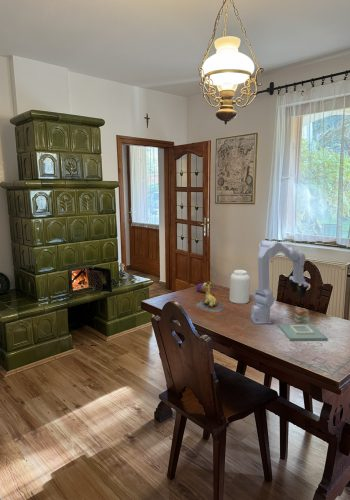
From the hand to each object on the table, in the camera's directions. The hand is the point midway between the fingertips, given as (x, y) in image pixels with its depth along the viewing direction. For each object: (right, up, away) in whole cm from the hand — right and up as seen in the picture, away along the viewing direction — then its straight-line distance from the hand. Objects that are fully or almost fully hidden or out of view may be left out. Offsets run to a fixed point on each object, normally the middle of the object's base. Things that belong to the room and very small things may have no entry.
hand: (298, 294), depth 201 cm
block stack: (-5, -13, -16) cm, 22 cm away
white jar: (-31, -7, +20) cm, 38 cm away
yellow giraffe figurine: (-51, -9, +10) cm, 53 cm away
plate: (-9, -15, -29) cm, 34 cm away
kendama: (-52, -5, +34) cm, 62 cm away
